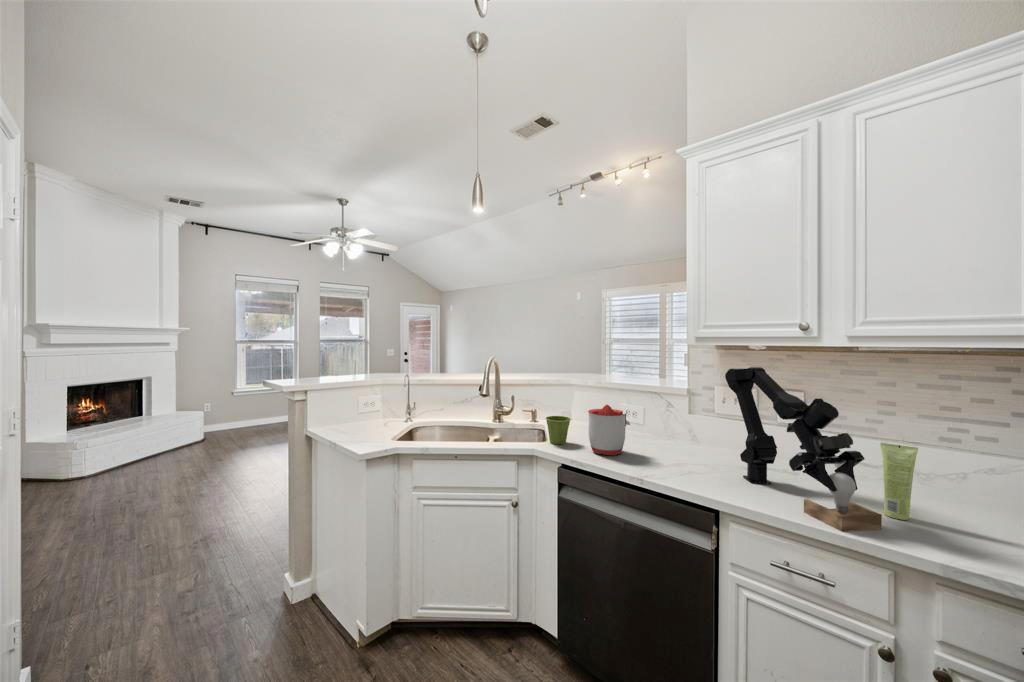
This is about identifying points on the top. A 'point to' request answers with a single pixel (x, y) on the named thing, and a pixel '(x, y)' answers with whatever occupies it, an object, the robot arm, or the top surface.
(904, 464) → the tube
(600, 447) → the citrus juicer
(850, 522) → the u rest
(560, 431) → the plant pot
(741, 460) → the robot arm
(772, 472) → the top surface
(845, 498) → the lightbulb
